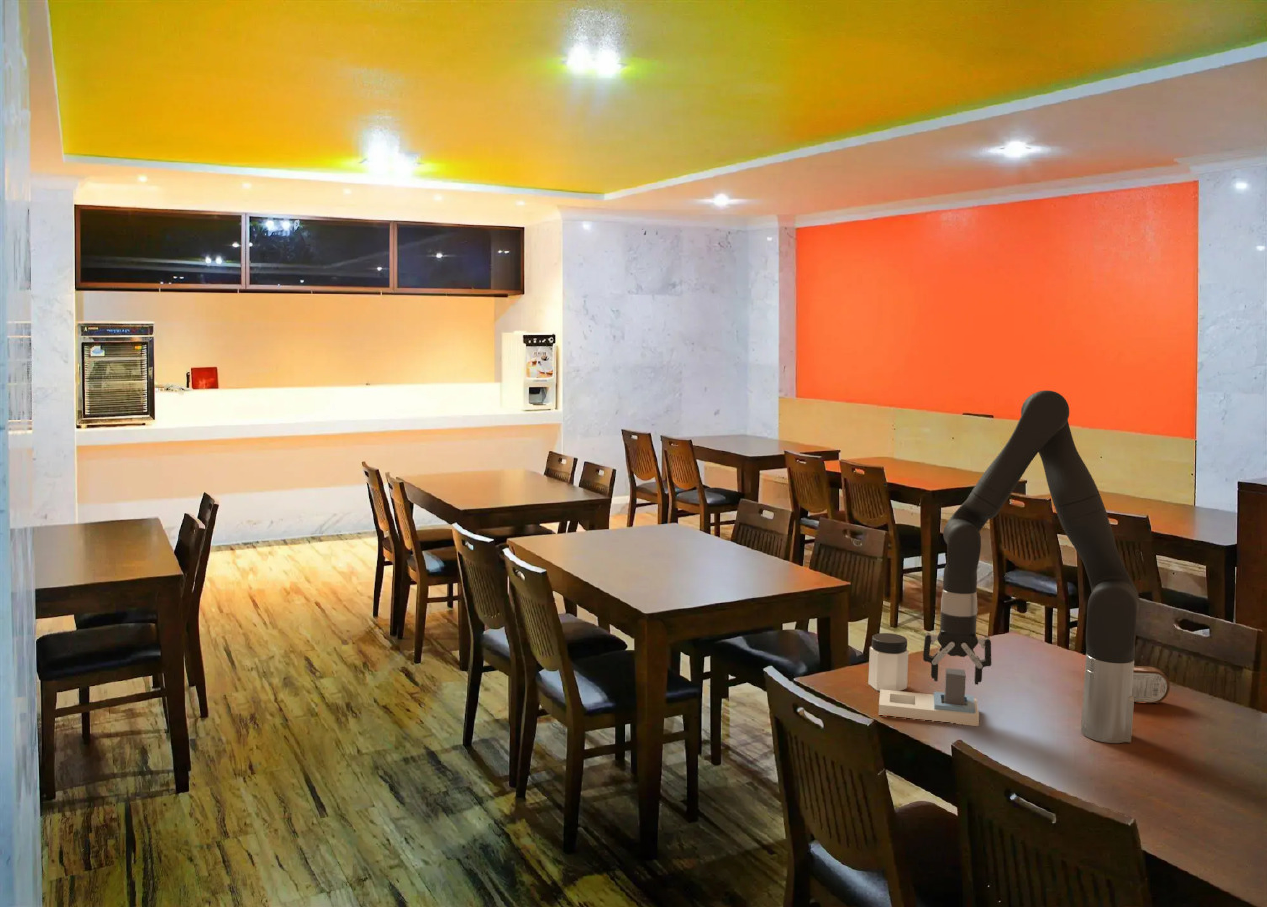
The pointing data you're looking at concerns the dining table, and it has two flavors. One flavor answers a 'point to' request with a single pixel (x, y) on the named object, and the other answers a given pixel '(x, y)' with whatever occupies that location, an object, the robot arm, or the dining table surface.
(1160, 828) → the dining table surface
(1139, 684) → the tin
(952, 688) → the plug
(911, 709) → the socket block
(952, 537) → the robot arm
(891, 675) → the jar
